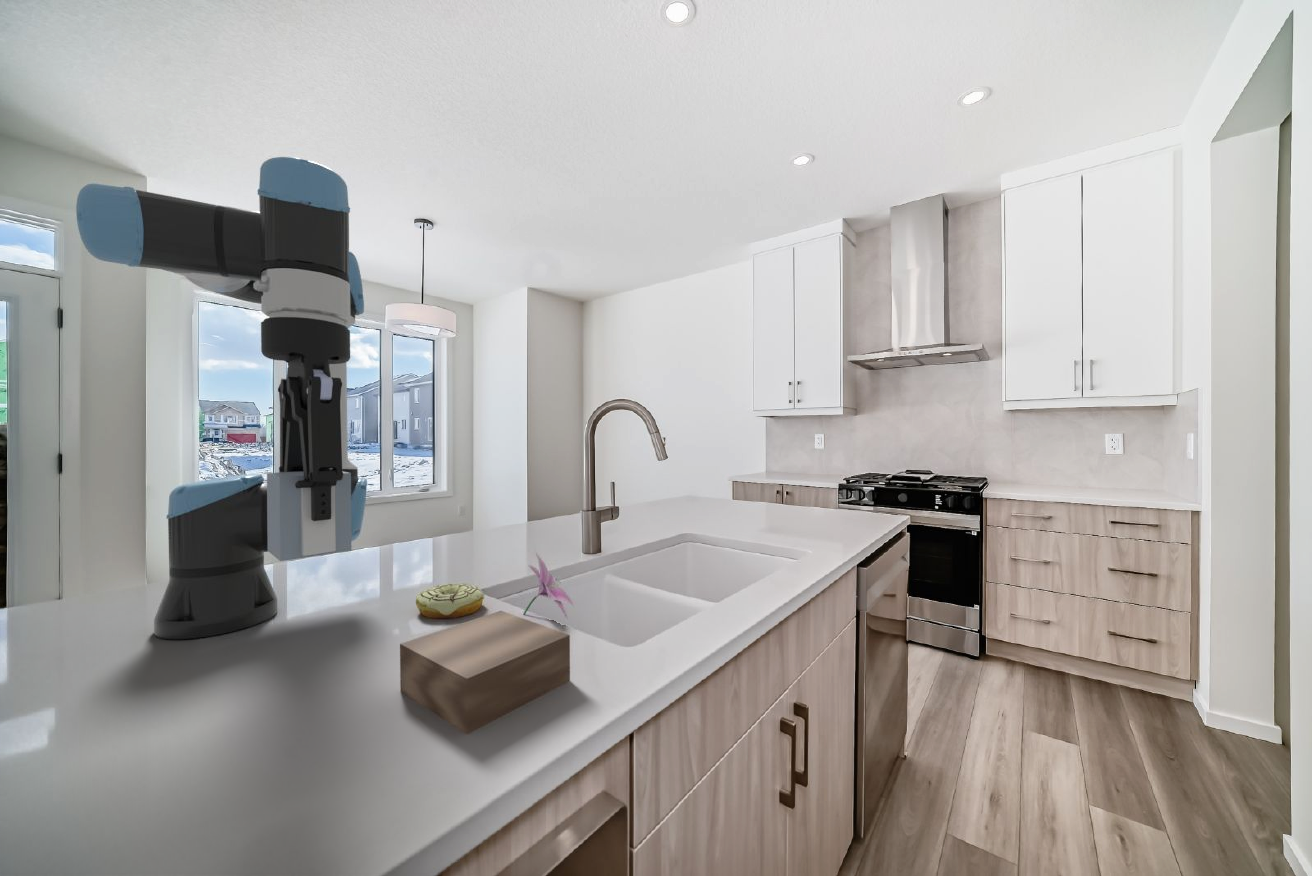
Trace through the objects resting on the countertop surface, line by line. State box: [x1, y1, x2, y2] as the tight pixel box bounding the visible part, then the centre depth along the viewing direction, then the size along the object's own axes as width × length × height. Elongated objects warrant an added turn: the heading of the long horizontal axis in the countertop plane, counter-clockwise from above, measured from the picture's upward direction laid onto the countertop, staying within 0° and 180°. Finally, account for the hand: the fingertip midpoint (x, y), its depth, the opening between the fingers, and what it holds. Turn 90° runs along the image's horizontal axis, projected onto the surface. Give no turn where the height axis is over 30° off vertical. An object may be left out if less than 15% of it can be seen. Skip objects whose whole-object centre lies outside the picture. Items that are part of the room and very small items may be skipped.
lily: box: [523, 550, 575, 620], centre depth 86 cm, size 12×12×10 cm
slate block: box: [266, 471, 352, 562], centre depth 53 cm, size 6×6×8 cm
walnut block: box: [399, 610, 571, 735], centre depth 62 cm, size 14×14×6 cm
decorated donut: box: [415, 582, 485, 619], centre depth 88 cm, size 10×11×4 cm
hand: (309, 547), depth 53 cm, fingers closed on slate block, 6 cm apart
